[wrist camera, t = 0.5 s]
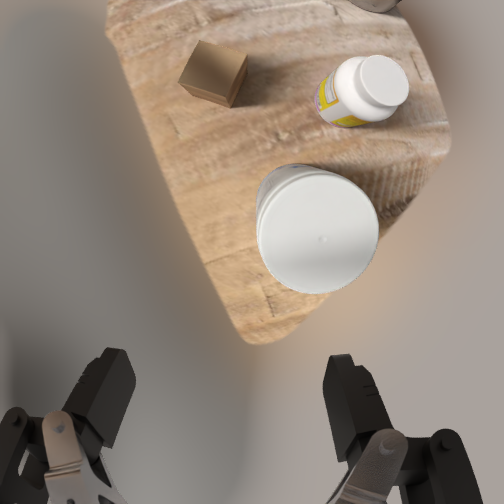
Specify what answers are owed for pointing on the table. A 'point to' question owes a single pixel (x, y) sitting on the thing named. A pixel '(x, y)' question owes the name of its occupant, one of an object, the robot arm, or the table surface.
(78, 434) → the robot arm
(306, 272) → the supplement tub
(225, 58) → the walnut block
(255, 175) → the table surface
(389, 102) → the supplement bottle
